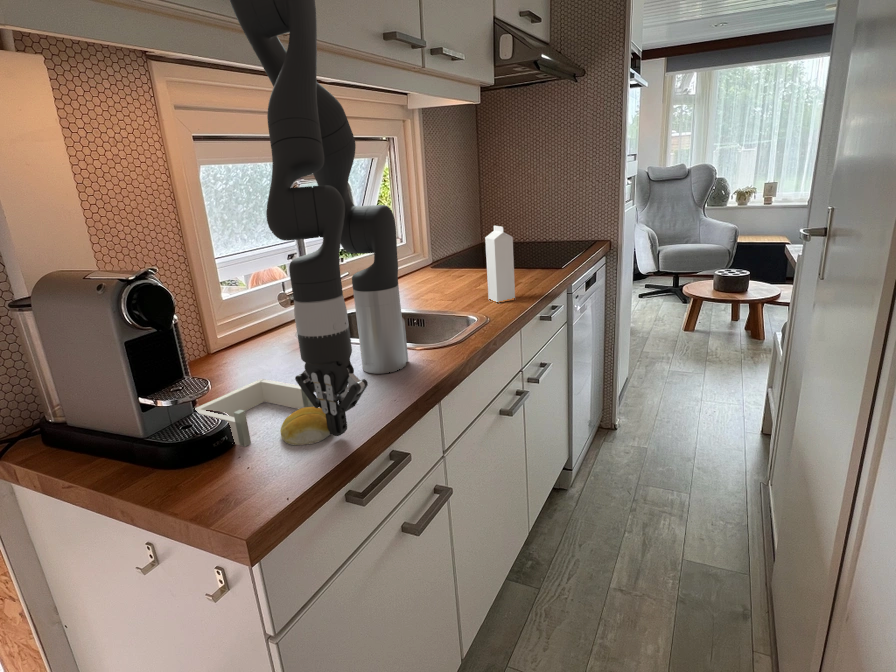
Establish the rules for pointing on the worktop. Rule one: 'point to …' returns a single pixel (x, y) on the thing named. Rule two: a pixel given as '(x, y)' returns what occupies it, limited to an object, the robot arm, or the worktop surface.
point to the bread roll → (305, 427)
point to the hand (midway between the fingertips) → (338, 433)
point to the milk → (500, 265)
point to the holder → (253, 404)
